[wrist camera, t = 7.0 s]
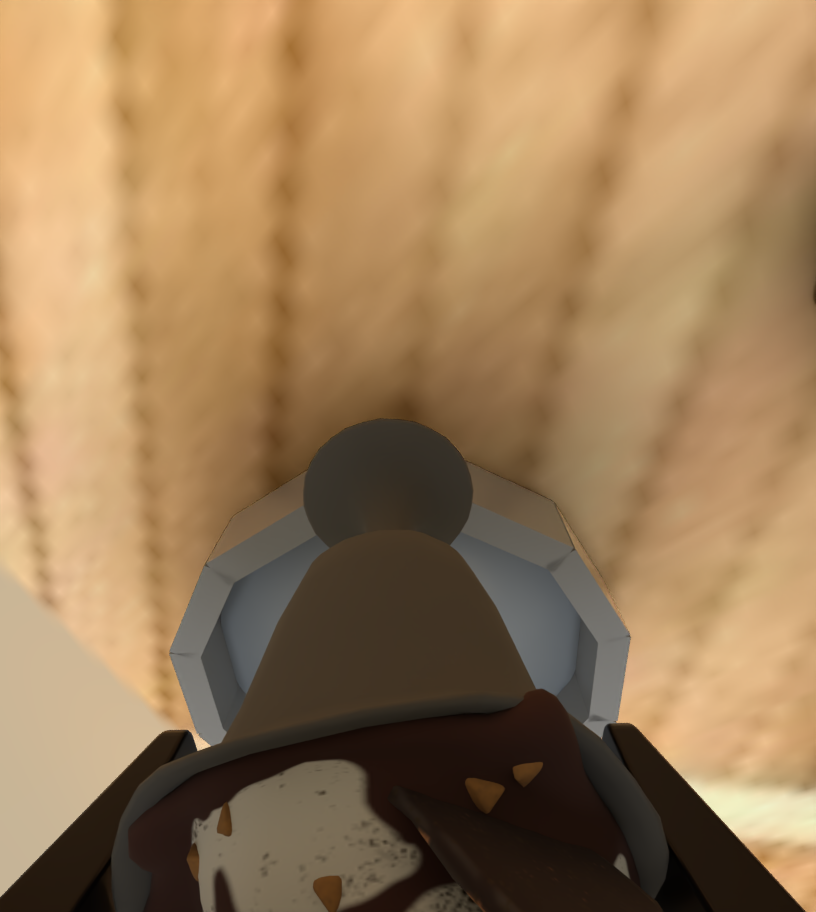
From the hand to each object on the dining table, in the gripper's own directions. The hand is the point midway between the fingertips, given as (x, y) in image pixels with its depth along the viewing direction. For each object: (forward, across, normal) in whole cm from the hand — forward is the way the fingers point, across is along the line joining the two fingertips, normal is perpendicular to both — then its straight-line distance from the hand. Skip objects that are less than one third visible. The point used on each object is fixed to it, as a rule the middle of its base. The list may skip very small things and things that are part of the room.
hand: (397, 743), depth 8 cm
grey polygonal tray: (+13, +1, +10) cm, 17 cm away
